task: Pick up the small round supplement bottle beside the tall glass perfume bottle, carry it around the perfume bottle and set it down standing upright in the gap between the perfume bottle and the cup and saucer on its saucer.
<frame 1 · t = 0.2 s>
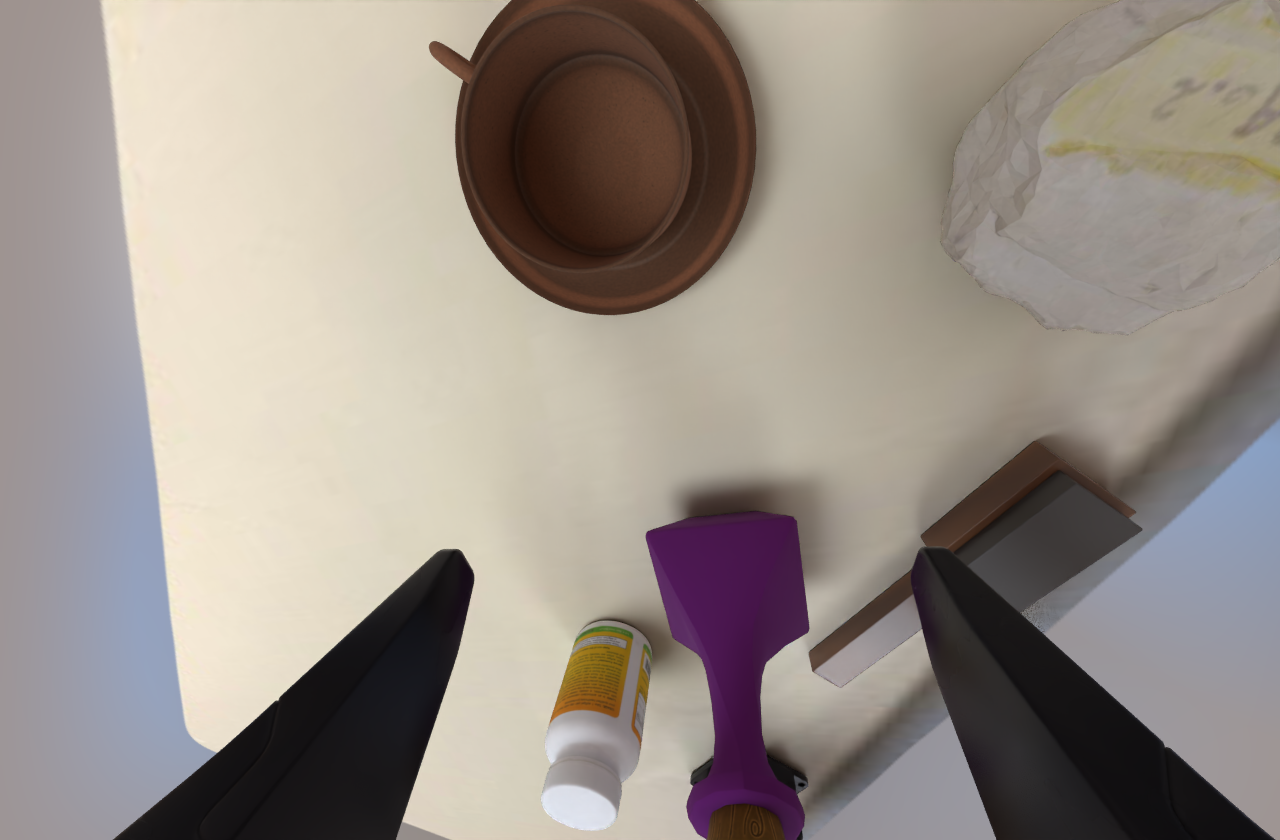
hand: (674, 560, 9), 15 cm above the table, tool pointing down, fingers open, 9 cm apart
fossil replica: (1068, 185, 19), on the table
hairbrush: (944, 564, 26), on the table
perfume bottle: (727, 541, 28), on the table
supplement bottle: (614, 644, 33), on the table
cup and saucer: (610, 166, 21), on the table
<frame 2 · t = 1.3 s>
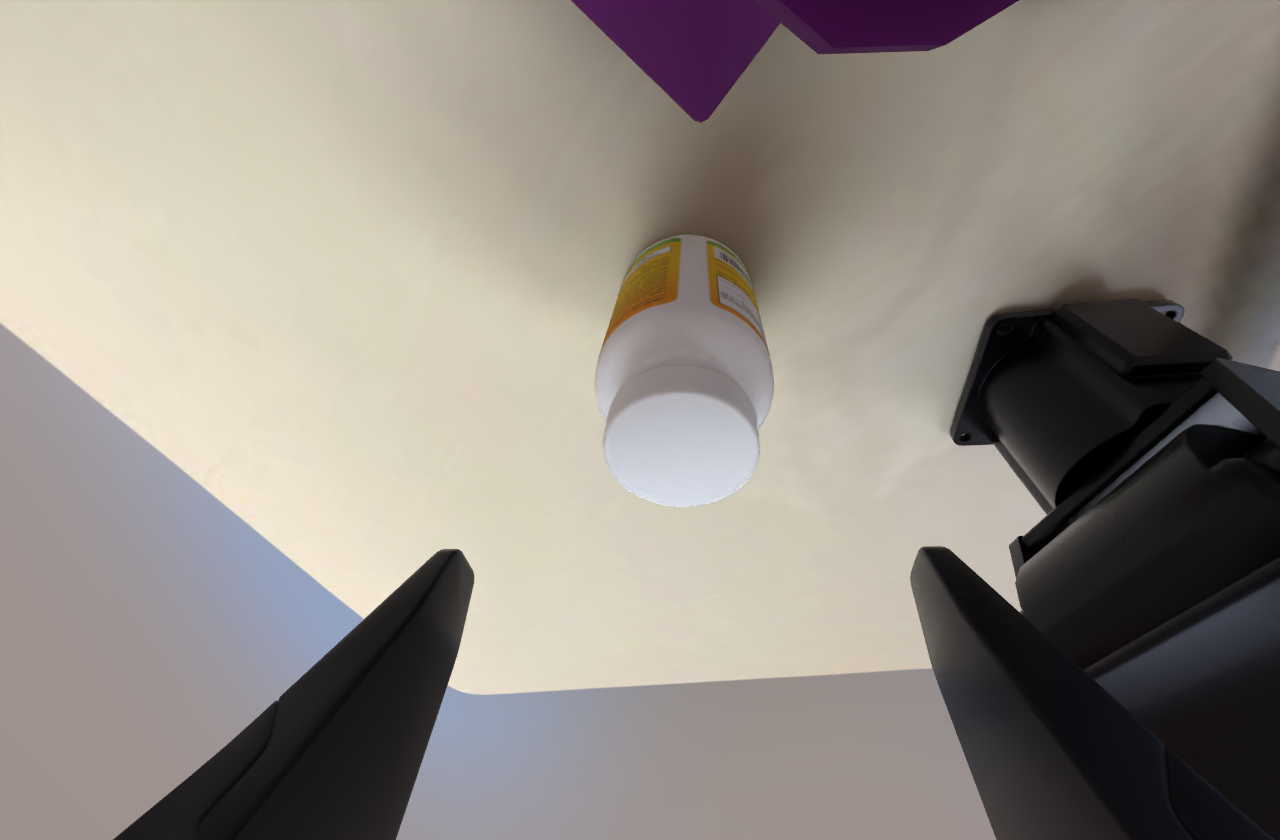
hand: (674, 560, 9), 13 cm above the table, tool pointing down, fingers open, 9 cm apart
supplement bottle: (686, 296, 20), on the table
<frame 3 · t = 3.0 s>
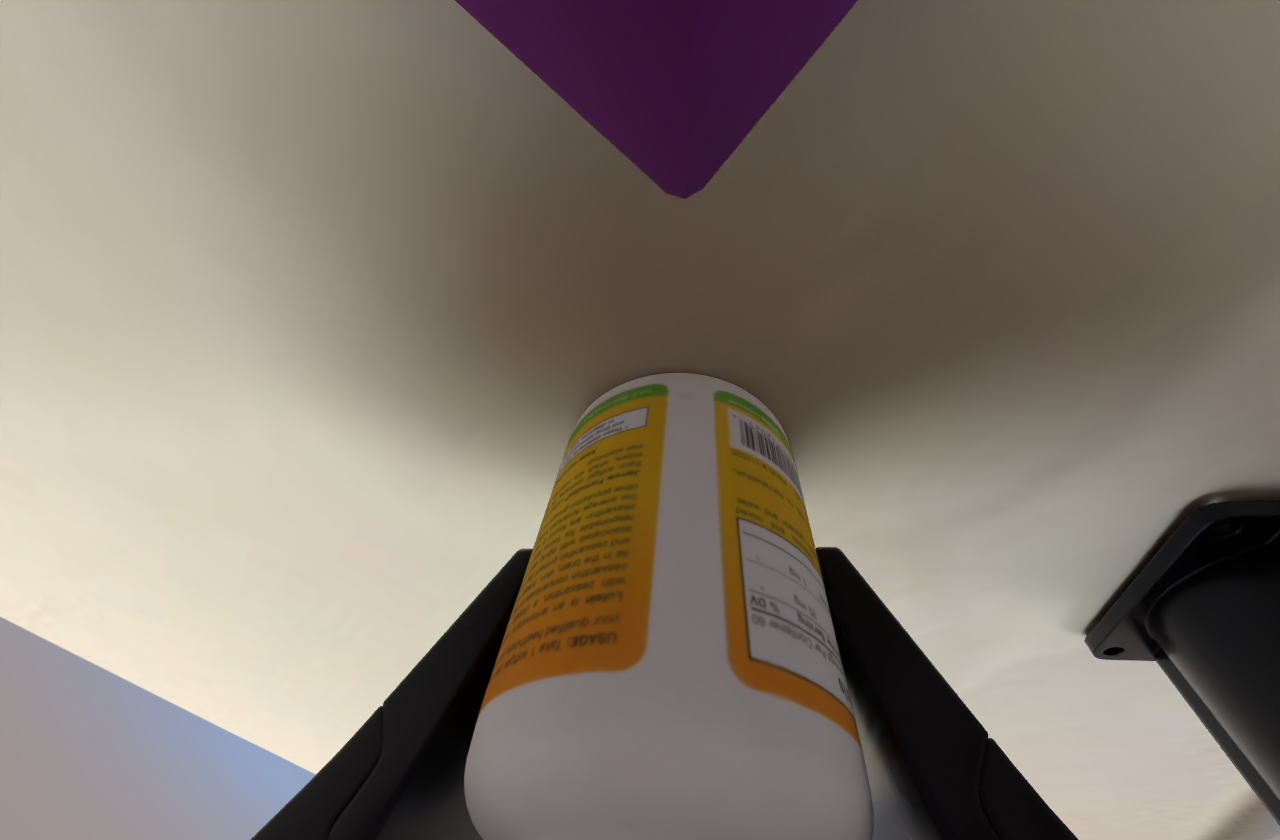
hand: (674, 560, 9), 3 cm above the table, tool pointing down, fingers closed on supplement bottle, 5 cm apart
supplement bottle: (678, 452, 12), on the table, touching gripper
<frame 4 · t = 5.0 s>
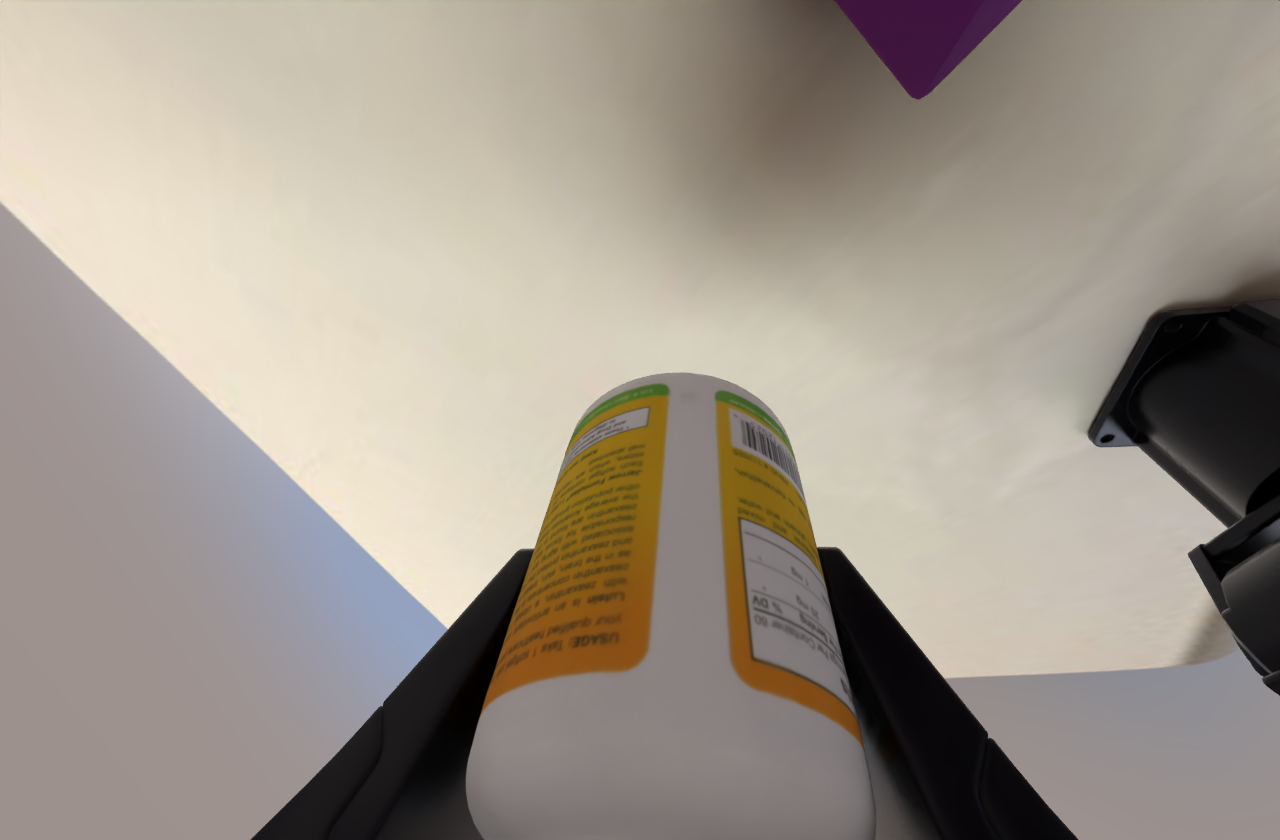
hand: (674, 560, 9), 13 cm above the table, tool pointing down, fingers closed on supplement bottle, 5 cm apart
supplement bottle: (679, 452, 12), point 10 cm above the table, touching gripper
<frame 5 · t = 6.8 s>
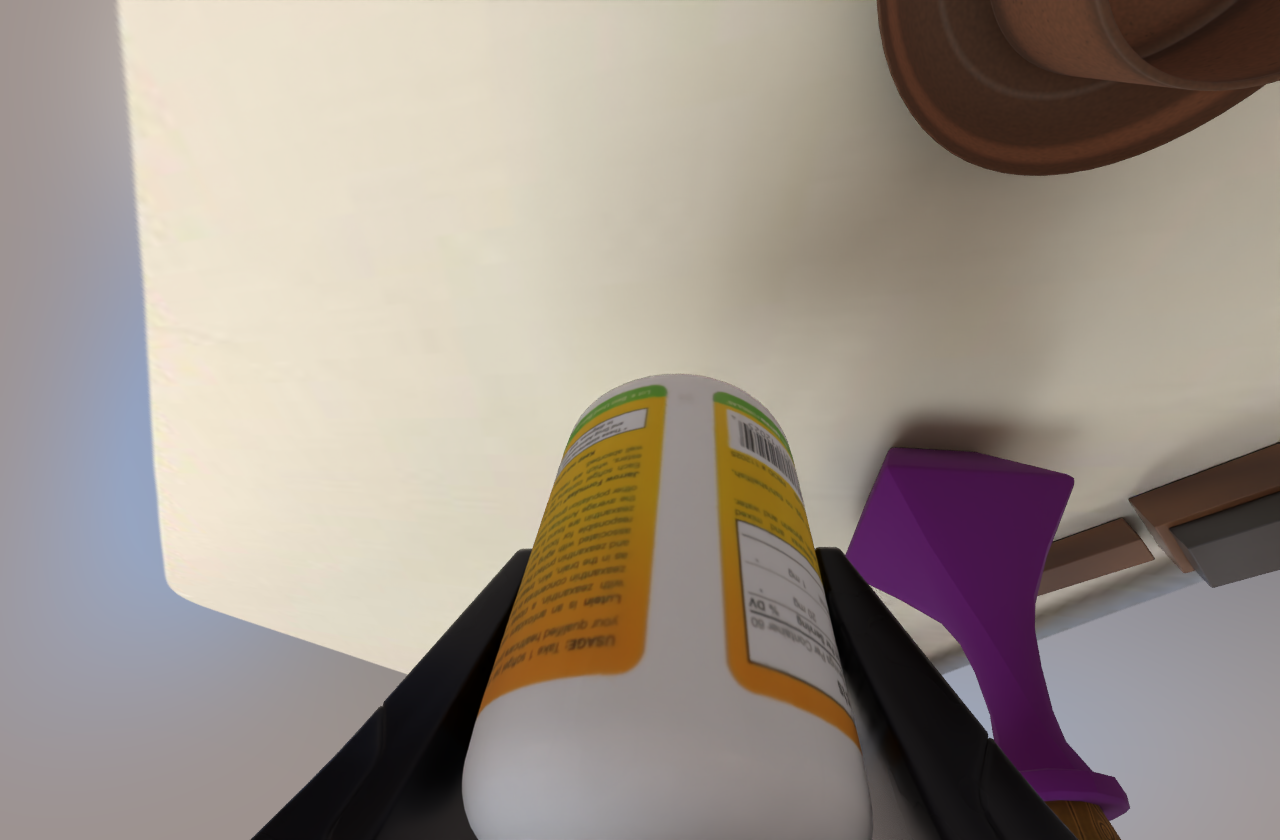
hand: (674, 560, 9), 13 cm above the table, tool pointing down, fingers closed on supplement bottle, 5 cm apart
hairbrush: (1129, 527, 25), on the table
perfume bottle: (917, 476, 25), on the table
supplement bottle: (677, 453, 12), point 10 cm above the table, touching gripper
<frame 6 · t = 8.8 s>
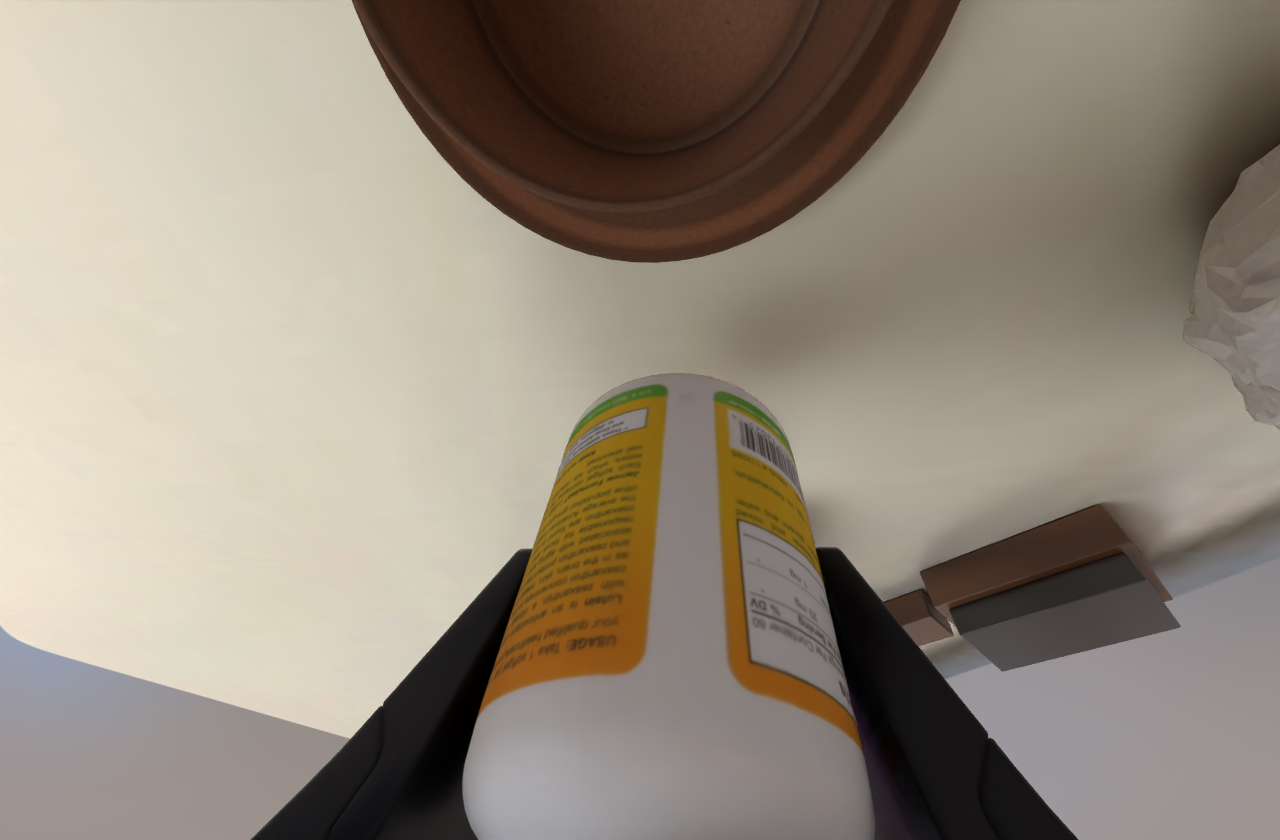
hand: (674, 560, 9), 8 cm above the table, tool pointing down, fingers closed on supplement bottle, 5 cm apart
hairbrush: (932, 599, 23), on the table
supplement bottle: (678, 453, 12), point 5 cm above the table, touching gripper
when the fingers open (3 cm above the table, at t = 10.5 s): supplement bottle stays where it is, on the table.
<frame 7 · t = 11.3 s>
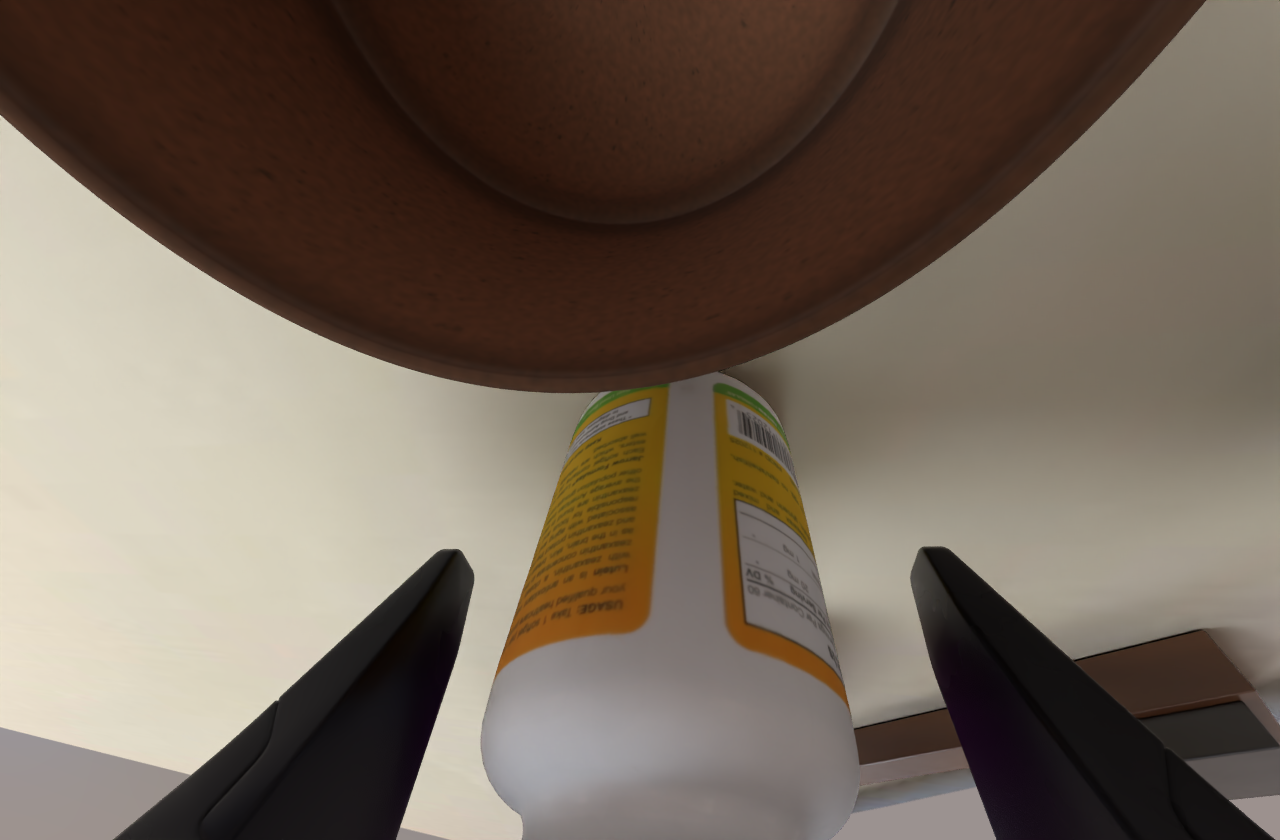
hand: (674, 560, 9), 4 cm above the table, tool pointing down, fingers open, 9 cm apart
hairbrush: (977, 713, 19), on the table
supplement bottle: (679, 444, 12), on the table
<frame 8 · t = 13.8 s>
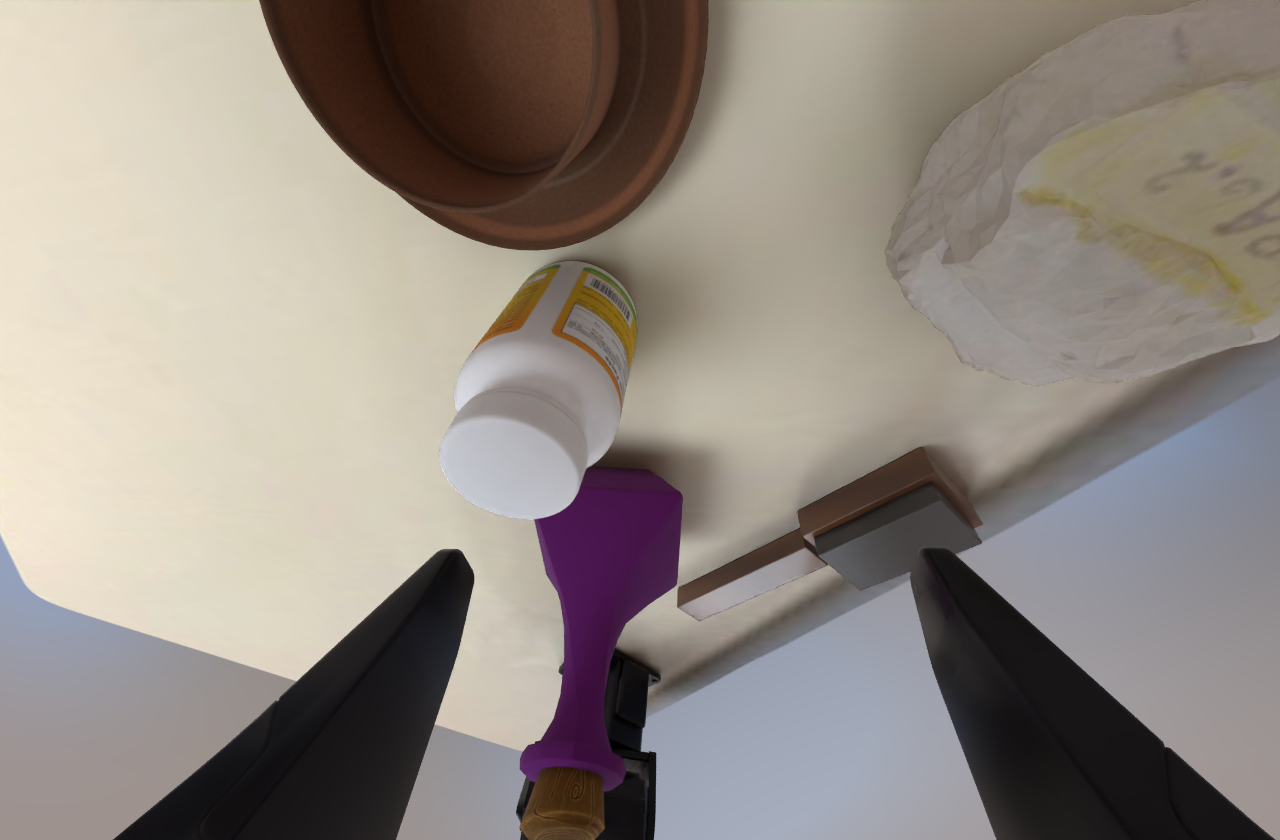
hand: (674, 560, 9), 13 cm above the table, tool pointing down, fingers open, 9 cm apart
fossil replica: (1038, 199, 16), on the table
hairbrush: (812, 536, 28), on the table
perfume bottle: (616, 491, 28), on the table
supplement bottle: (579, 317, 21), on the table
cup and saucer: (517, 39, 15), on the table
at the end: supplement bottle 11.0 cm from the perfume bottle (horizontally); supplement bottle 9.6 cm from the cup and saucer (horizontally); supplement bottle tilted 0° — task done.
